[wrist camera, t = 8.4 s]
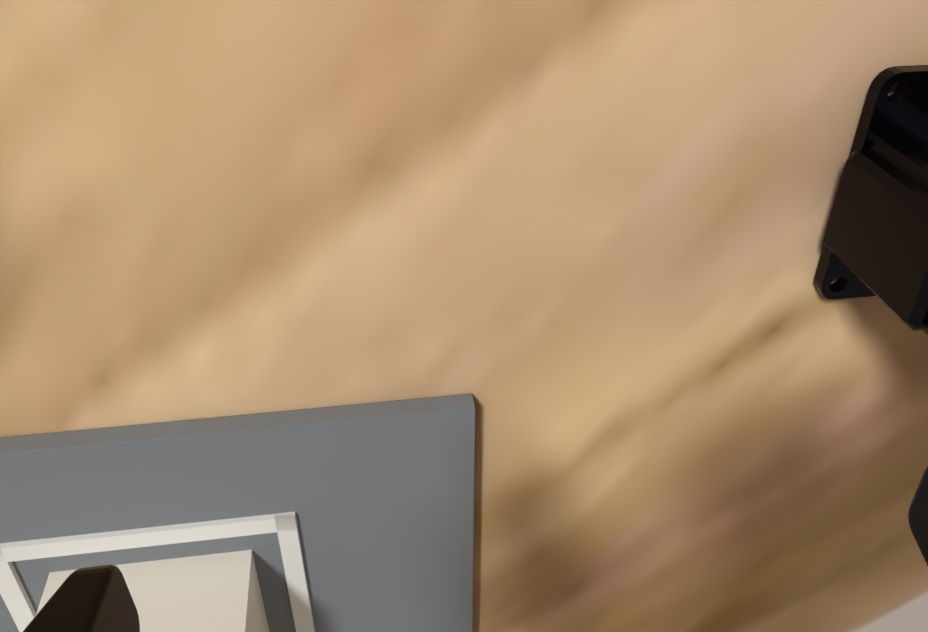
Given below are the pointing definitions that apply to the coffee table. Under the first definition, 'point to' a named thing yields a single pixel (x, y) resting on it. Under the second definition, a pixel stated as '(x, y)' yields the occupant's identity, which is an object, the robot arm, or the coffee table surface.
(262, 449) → the grey flat rectangular panel
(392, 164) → the coffee table surface
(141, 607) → the base block
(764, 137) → the coffee table surface
